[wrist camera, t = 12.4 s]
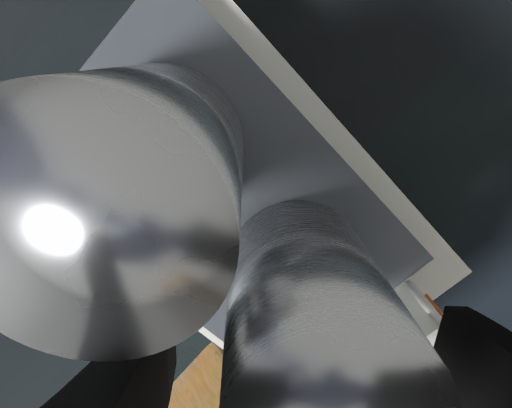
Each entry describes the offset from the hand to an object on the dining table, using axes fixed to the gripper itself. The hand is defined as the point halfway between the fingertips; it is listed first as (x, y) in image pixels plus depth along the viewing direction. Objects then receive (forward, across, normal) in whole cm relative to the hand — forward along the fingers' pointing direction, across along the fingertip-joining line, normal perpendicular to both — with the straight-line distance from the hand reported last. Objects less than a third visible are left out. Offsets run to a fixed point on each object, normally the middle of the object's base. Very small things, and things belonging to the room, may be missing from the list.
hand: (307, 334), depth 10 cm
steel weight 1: (+3, +4, -4) cm, 7 cm away
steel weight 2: (+3, 0, 0) cm, 3 cm away
